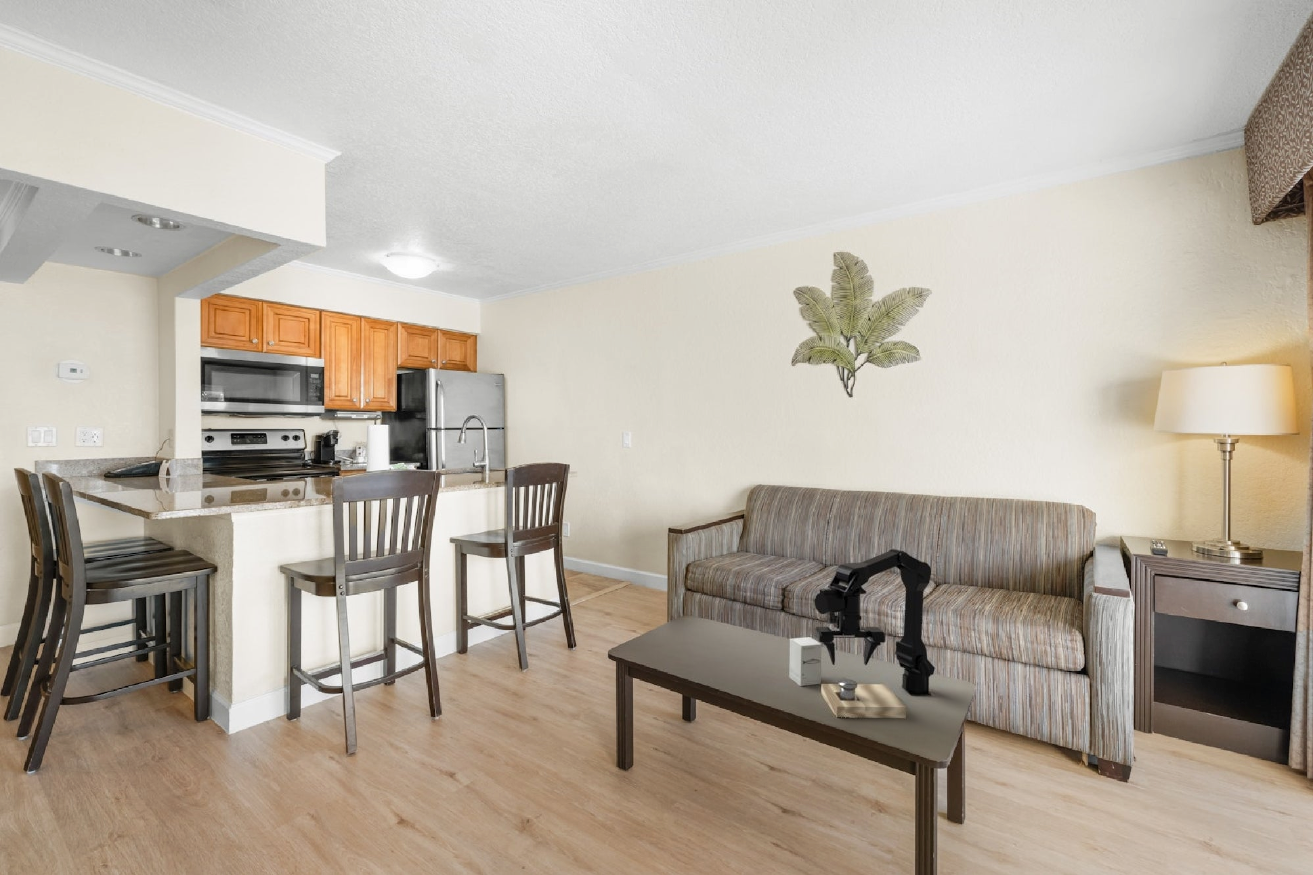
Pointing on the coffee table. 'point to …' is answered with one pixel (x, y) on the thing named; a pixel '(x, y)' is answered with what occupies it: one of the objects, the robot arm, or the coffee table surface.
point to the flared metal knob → (847, 689)
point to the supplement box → (805, 661)
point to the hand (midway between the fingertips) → (849, 664)
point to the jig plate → (864, 702)
